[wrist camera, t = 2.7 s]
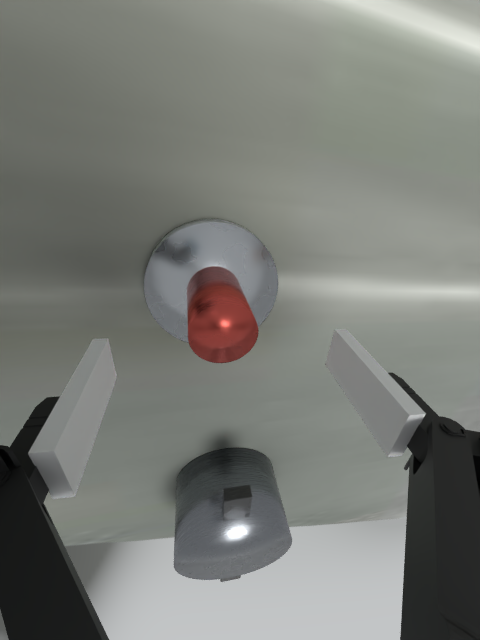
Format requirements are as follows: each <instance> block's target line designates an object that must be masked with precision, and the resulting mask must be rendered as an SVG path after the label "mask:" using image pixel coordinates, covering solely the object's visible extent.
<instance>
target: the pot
mask: <svg viewBox="0 0 480 640" xmlns="http://www.w3.org/2000/svg"><path fill="white" fill-rule="evenodd" d="M291 544H292V537H291V534H290V530H289V526H288V523H287V519H286V515H285V511H284V508H283V504H282V500H281V497H280V493H279V489H278V486H277V482H276V478H275V475H274V471H273V467H272V464H271V462H270V460H269V459H268V458H267V457H266V456H265V455H264V454H262V453H260V452H258V451H255V450H251V449H246V448H227V449H221V450H217V451H213V452H210V453H207V454H204V455H202V456H200V457H198V458H196V459H194V460H193V461H191V462H190V463H189V464H187V465H186V466H185V467H184V468H183V469H182V471H181V472H180V473H179V475H178V478H177V488H176V516H175V544H174V568H175V570H176V571H177V572H178V573H179V574H181V575H183V576H185V577H188V578H192V579H201V580H213V579H221V582H223V581H228V580H233V579H238V578H240V576H241V575H242V574H246V573H249V572H252V571H255V570H258V569H260V568H263V567H265V566H267V565H269V564H271V563H273V562H274V561H276V560H277V559H279V558H280V557H281V556H282V555H284V554H285V553H286V552H287V551H288V549H289V548H290V546H291Z"/></svg>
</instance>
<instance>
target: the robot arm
mask: <svg viewBox="0 0 480 640" xmlns="http://www.w3.org/2000/svg"><path fill="white" fill-rule="evenodd" d="M325 365H326V366H327V368H328V369H329V371H330V372H331V374H332V375H333V377H334V378H335V380H336V381H337V383H338V384H339V386H340V387H341V389H342V390H343V392H344V393H345V395H346V396H347V397H348V399H349V400H350V402H351V403H352V405H353V406H354V408H355V409H356V411H357V412H358V414H359V415H360V417H361V418H362V420H363V421H364V423H365V424H366V426H367V427H368V429H369V430H370V432H371V433H372V435H373V436H374V438H375V439H376V441H377V442H378V444H379V445H380V447H381V448H382V450H383V451H384V453H385V454H386V456H387V457H393V456H401V455H403V453H404V451H405V450H406V448H407V447H408V448H409V449H410V451H411V452H412V455H411V457H410V458H409V460H408V462H407V463H406V465H405V467H404V469H405V470H407V469H408V467H409V466H410V467H409V487H408V506H407V525H406V544H405V564H404V583H403V602H402V621H401V622H402V623H401V637H400V640H480V432H475V431H470V430H465V429H464V428H463V427H462V426H461V425H460V424H458V423H457V422H455V421H453V420H451V419H449V418H446V417H439V416H438V415H437V414H436V413H435V412H434V411H433V410H432V409H431V408H430V407H429V406H428V405H427V404H426V403H425V402H424V401H423V400H422V399H421V398H420V397H419V396H418V395H417V394H416V393H415V391H414V390H413V389H412V388H410V386H409V385H408V384H407V383H406V382H405V381H404V380H403V379H402V378H400V377H398V376H397V375H395V374H394V373H387V372H386V371H385V370H384V369H383V367H382V366H381V365H380V364H379V363H378V362H377V361H376V360H375V359H374V358H373V357H372V356H371V355H370V354H369V353H368V351H367V350H366V349H365V348H364V347H363V346H362V345H361V344H360V343H359V342H358V341H357V340H356V339H355V338H354V337H353V336H352V334H351V333H350V332H349V331H348V330H347V329H335V330H334V334H333V337H332V341H331V345H330V349H329V352H328V356H327V360H326V364H325ZM116 379H117V374H116V370H115V366H114V361H113V357H112V353H111V348H110V344H109V340H108V338H103V339H93V340H92V341H91V343H90V345H89V347H88V348H87V350H86V352H85V354H84V356H83V357H82V359H81V361H80V363H79V364H78V366H77V368H76V370H75V371H74V373H73V375H72V377H71V378H70V380H69V382H68V384H67V385H66V387H65V389H64V391H63V392H62V394H61V396H60V397H47V398H46V399H45V400H43V401H42V402H41V403H40V404H39V405H38V406H36V407H35V409H34V410H33V412H32V414H31V415H30V417H29V420H27V421H26V423H25V424H24V426H23V429H21V431H20V432H19V434H18V435H17V437H16V438H15V440H14V441H13V443H12V445H11V446H10V448H9V447H8V446H2V445H0V609H1V613H2V617H3V620H4V624H5V627H6V631H7V635H8V638H9V640H109V639H108V637H107V635H106V632H105V630H104V628H103V626H102V624H101V622H100V620H99V618H98V616H97V613H96V611H95V609H94V607H93V605H92V603H91V601H90V599H89V597H88V595H87V593H86V591H85V589H84V586H83V584H82V582H81V580H80V578H79V576H78V574H77V572H76V570H75V568H74V566H73V563H72V561H71V559H70V557H69V555H68V553H67V551H66V549H65V547H64V545H63V542H62V540H61V538H60V536H59V534H58V532H57V530H56V528H55V526H54V524H53V522H52V519H51V517H50V515H49V513H48V511H47V509H46V507H45V505H44V503H43V502H44V500H45V498H46V495H47V493H48V491H49V493H50V495H51V497H52V498H53V499H59V498H67V497H75V496H76V493H77V490H78V487H79V484H80V481H81V479H82V476H83V473H84V470H85V467H86V464H87V462H88V459H89V456H90V453H91V450H92V447H93V444H94V442H95V439H96V436H97V433H98V430H99V427H100V425H101V422H102V419H103V416H104V413H105V410H106V408H107V405H108V402H109V399H110V396H111V393H112V391H113V388H114V385H115V382H116Z"/></svg>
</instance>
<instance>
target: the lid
mask: <svg viewBox="0 0 480 640" xmlns="http://www.w3.org/2000/svg"><path fill="white" fill-rule="evenodd" d="M277 291H278V275H277V270H276V266H275V263H274V260H273V258H272V256H271V254H270V252H269V251H268V250H267V248H266V247H265V246H264V245H263V243H262V242H261V241H260V240H259V239H258V238H257V237H256V236H255V235H254V234H252V233H251V232H250V231H249V230H247V229H245V228H244V227H242V226H240V225H238V224H235V223H233V222H230V221H226V220H220V219H201V220H195V221H192V222H189V223H186V224H184V225H181V226H179V227H177V228H176V229H174V230H173V231H171V232H170V233H169V234H167V235H166V236H165V237H164V238H163V239H162V240H161V241H160V243H159V244H158V245H157V247H156V248H155V250H154V251H153V253H152V255H151V258H150V260H149V263H148V266H147V269H146V273H145V279H144V293H145V298H146V302H147V305H148V308H149V310H150V312H151V314H152V316H153V317H154V319H155V320H156V321H157V323H158V324H159V325H160V326H161V327H162V328H163V329H164V330H166V331H167V332H168V333H169V334H171V335H172V336H174V337H176V338H178V339H180V340H182V341H185V342H188V343H189V345H190V347H191V349H192V350H193V351H194V353H195V354H196V355H198V356H199V357H200V358H202V359H204V360H206V361H209V362H214V363H226V362H231V361H234V360H237V359H239V358H241V357H243V356H244V355H245V354H247V353H248V352H249V351H250V350H251V349H252V347H253V346H254V344H255V342H256V340H257V337H258V326H260V325H261V324H262V322H263V321H264V320H265V319H266V317H267V316H268V314H269V313H270V311H271V309H272V307H273V305H274V302H275V299H276V295H277Z"/></svg>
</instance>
